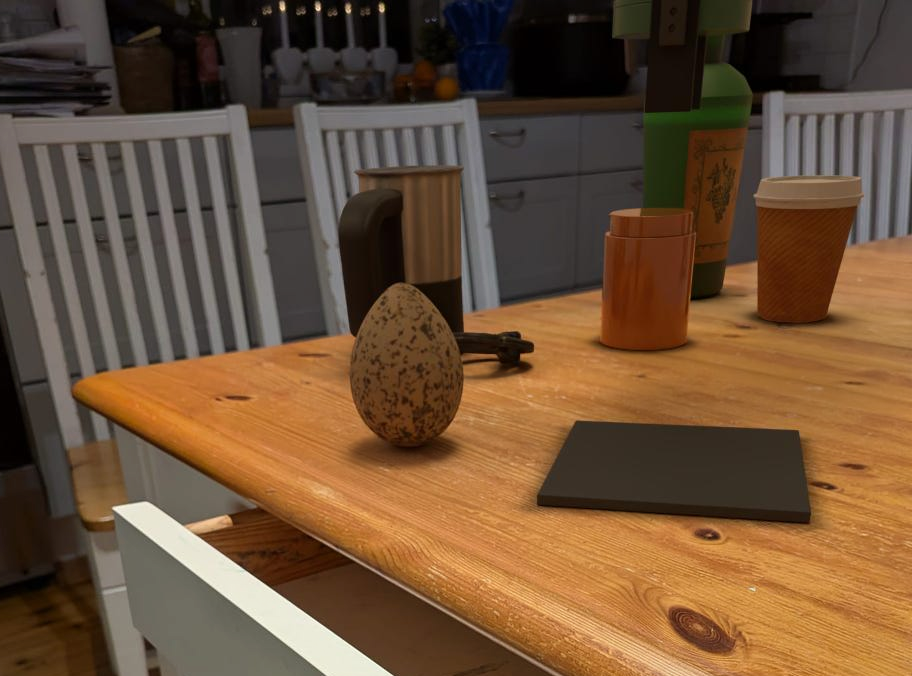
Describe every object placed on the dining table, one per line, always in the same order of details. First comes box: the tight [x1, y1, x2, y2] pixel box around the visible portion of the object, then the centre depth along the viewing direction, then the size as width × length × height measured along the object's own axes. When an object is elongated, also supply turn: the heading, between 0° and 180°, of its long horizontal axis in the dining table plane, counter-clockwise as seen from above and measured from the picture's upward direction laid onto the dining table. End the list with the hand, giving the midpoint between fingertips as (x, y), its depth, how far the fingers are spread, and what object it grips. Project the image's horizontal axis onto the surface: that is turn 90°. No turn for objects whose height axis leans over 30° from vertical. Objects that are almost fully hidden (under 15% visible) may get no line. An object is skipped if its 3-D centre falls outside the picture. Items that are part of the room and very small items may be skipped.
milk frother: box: [337, 164, 535, 365], centre depth 80 cm, size 14×16×15 cm
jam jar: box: [599, 207, 696, 351], centre depth 83 cm, size 8×8×11 cm
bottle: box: [642, 35, 754, 300], centre depth 98 cm, size 11×11×28 cm
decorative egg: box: [349, 282, 465, 448], centre depth 60 cm, size 7×7×10 cm
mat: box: [536, 419, 812, 524], centre depth 56 cm, size 14×14×1 cm
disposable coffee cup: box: [753, 174, 866, 324], centre depth 89 cm, size 10×10×12 cm
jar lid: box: [611, 0, 753, 40], centre depth 59 cm, size 8×8×2 cm
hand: (674, 110), depth 61 cm, fingers closed on jar lid, 8 cm apart
